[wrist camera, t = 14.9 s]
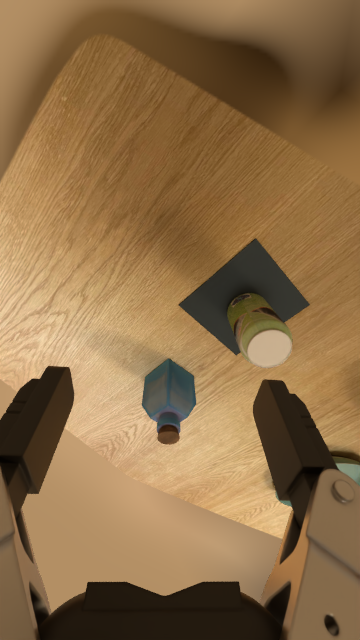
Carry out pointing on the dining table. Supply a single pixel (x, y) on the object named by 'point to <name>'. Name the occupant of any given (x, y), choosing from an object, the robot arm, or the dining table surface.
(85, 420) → the dining table surface
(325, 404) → the dining table surface
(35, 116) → the dining table surface
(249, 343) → the beverage can
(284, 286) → the mat
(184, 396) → the perfume bottle
